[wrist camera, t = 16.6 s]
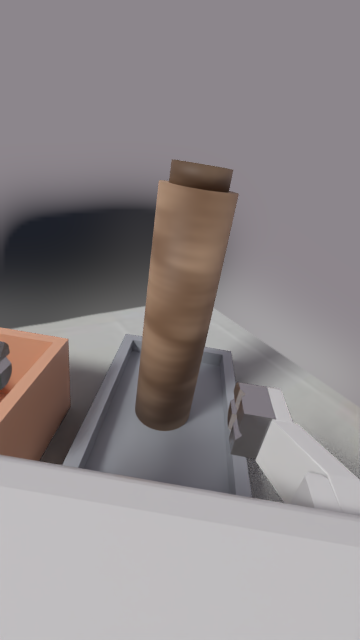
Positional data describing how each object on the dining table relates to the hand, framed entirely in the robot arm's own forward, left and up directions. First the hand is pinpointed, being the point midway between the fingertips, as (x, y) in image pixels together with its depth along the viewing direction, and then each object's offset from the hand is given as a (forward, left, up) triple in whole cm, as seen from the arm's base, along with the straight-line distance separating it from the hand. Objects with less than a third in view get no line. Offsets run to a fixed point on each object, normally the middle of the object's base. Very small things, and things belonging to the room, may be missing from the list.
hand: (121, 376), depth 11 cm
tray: (-2, -11, -13) cm, 17 cm away
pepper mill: (-1, -11, -12) cm, 16 cm away
